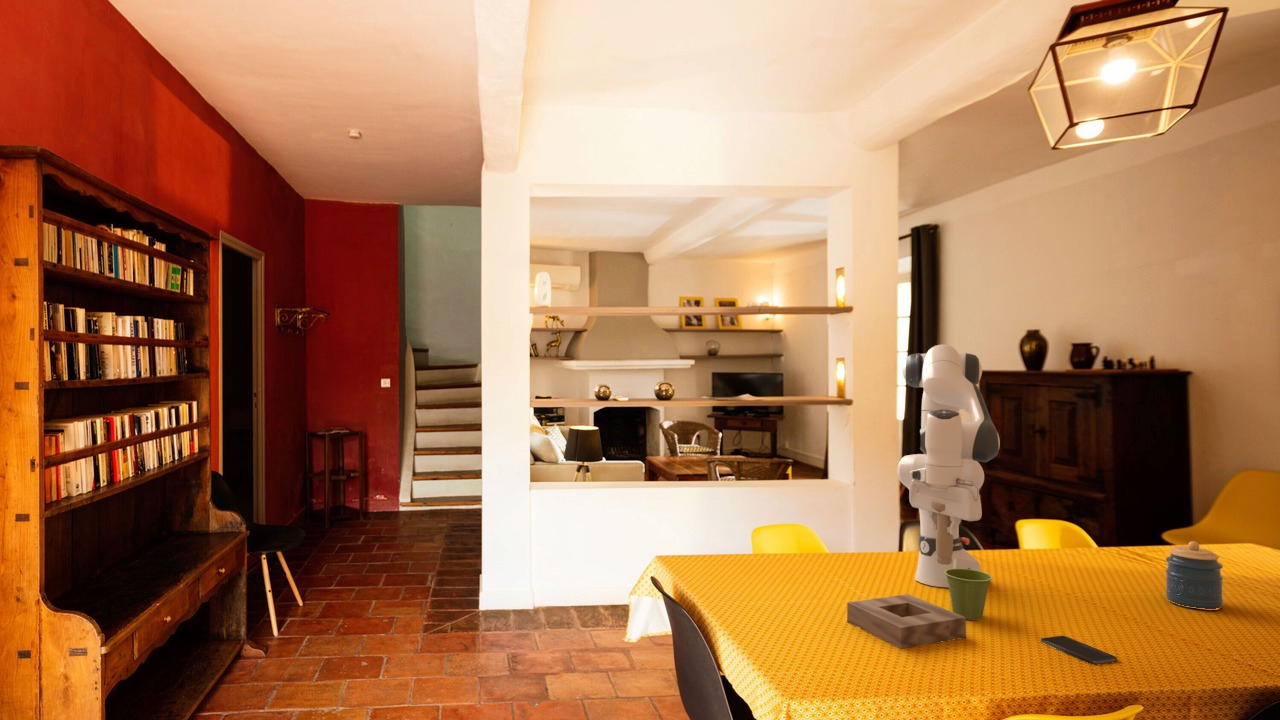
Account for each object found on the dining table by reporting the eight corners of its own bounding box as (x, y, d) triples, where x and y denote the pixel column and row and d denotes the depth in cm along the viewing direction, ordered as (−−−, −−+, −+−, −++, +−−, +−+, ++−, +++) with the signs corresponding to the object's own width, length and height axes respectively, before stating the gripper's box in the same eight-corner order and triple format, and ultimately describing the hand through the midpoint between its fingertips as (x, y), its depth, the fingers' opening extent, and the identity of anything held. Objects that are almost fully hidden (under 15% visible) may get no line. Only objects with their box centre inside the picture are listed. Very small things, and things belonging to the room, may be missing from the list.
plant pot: (972, 626, 190) (972, 582, 190) (934, 613, 200) (934, 571, 200) (1002, 619, 195) (1002, 576, 195) (964, 606, 205) (964, 566, 206)
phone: (1093, 662, 165) (1038, 638, 179) (1093, 667, 165) (1038, 643, 179) (1120, 658, 167) (1064, 635, 182) (1120, 663, 167) (1064, 639, 182)
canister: (1225, 603, 209) (1225, 541, 209) (1220, 615, 200) (1220, 549, 200) (1169, 594, 218) (1169, 534, 218) (1162, 604, 208) (1161, 541, 209)
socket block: (908, 612, 200) (908, 594, 200) (965, 637, 182) (965, 617, 182) (847, 621, 193) (847, 602, 193) (900, 649, 174) (900, 627, 174)
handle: (962, 565, 181) (962, 503, 181) (940, 567, 179) (940, 505, 179) (948, 559, 186) (948, 500, 186) (927, 561, 184) (927, 501, 184)
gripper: (988, 481, 174) (988, 540, 174) (923, 469, 193) (923, 522, 193) (968, 483, 172) (968, 542, 172) (904, 471, 191) (905, 524, 191)
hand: (944, 532), depth 183 cm, fingers closed on handle, 3 cm apart
